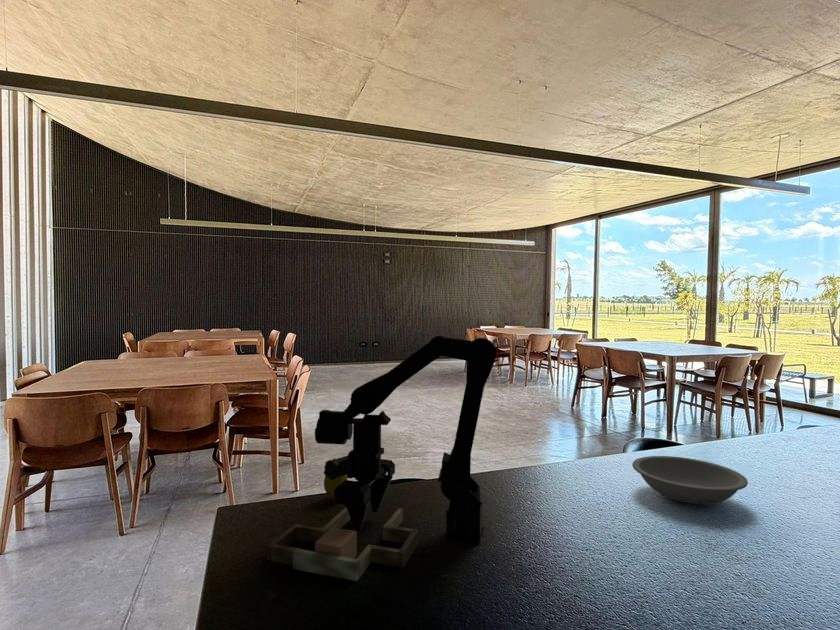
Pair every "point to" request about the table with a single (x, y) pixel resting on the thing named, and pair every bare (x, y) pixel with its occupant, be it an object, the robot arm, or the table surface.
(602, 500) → the table surface
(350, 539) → the block
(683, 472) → the soup bowl
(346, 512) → the box
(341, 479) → the lemon
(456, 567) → the table surface
